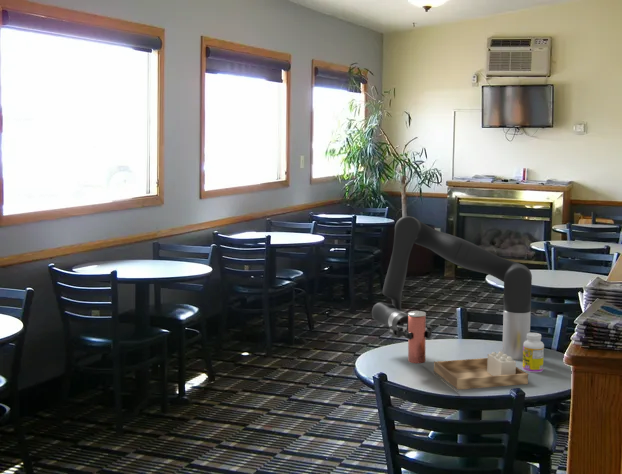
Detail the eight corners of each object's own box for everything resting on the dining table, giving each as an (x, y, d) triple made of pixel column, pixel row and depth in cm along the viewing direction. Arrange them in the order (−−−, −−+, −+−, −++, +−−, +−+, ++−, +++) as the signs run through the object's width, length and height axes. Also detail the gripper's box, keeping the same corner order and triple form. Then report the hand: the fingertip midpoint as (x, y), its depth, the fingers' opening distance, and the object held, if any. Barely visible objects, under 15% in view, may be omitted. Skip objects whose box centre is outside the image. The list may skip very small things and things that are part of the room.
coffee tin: (422, 357, 267) (422, 310, 265) (428, 362, 262) (428, 314, 260) (405, 359, 266) (405, 311, 264) (411, 364, 260) (411, 315, 258)
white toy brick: (501, 370, 268) (501, 349, 267) (515, 379, 259) (516, 357, 258) (487, 371, 267) (487, 350, 266) (500, 380, 257) (501, 358, 256)
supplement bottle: (519, 369, 273) (520, 331, 271) (538, 368, 273) (540, 331, 272) (526, 375, 266) (527, 336, 265) (546, 374, 267) (547, 336, 265)
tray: (499, 368, 273) (499, 357, 273) (527, 386, 254) (528, 373, 254) (433, 373, 268) (434, 361, 267) (457, 391, 249) (458, 379, 249)
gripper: (381, 314, 274) (398, 326, 258) (421, 311, 278) (440, 322, 261) (382, 336, 275) (398, 348, 259) (421, 332, 279) (440, 345, 262)
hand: (419, 335), depth 260 cm, fingers closed on coffee tin, 5 cm apart
